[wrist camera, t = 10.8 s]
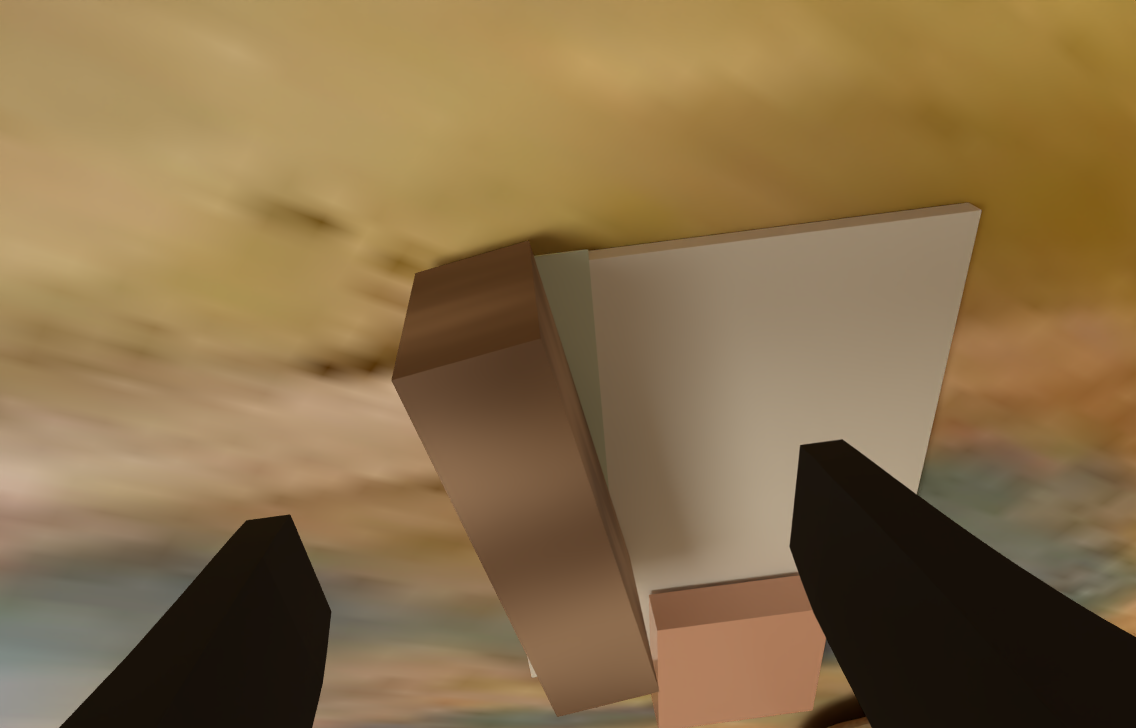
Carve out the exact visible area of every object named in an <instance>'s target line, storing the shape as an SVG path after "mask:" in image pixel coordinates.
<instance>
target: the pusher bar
mask: <svg viewBox="0 0 1136 728" xmlns="http://www.w3.org/2000/svg"><path fill="white" fill-rule="evenodd" d="M392 382H393V384H394V386H395V389H396V391H397V393H398V395H399V397H400V399H401V401H402V403H403V405H404V407H405V409H406V411H407V413H408V415H409V417H410V419H411V421H412V423H413V425H414V427H415V429H416V431H417V433H418V435H419V437H420V439H421V441H422V443H423V445H424V447H425V449H426V451H427V454H428V456H429V458H430V460H431V462H432V464H433V466H434V468H435V470H436V472H437V474H438V476H439V478H440V480H441V482H442V484H443V486H444V488H445V490H446V492H447V494H448V496H449V498H450V500H451V502H452V504H453V506H454V508H455V510H456V512H457V514H458V516H459V518H460V521H461V523H462V525H463V527H464V529H465V531H466V533H467V535H468V537H469V539H470V541H471V543H472V545H473V547H474V549H475V551H476V553H477V555H478V557H479V559H480V561H481V563H482V565H483V567H484V569H485V571H486V573H487V575H488V577H489V579H490V581H491V583H492V585H493V588H494V590H495V592H496V594H497V596H498V598H499V600H500V602H501V604H502V606H503V608H504V610H505V612H506V614H507V616H508V618H509V620H510V622H511V624H512V626H513V628H514V630H515V632H516V634H517V636H518V638H519V640H520V642H521V644H522V646H523V648H524V650H525V653H526V655H527V657H528V659H529V661H530V663H531V665H532V667H533V669H534V671H535V673H536V675H537V677H538V679H539V681H540V683H541V685H542V687H543V689H544V691H545V693H546V695H547V697H548V699H549V701H550V703H551V705H552V707H553V709H554V711H555V713H556V715H557V717H559V716H563V715H567V714H571V713H575V712H579V711H583V710H587V709H591V708H595V707H599V706H603V705H607V704H611V703H615V702H619V701H623V700H628V699H632V698H636V697H640V696H644V695H648V694H652V693H656V692H660V691H659V687H658V682H657V678H656V673H655V669H654V664H653V660H652V655H651V651H650V646H649V641H648V637H647V632H646V628H645V623H644V619H643V614H642V610H641V605H640V601H639V596H638V592H637V587H636V583H635V578H634V574H633V569H632V565H631V560H630V556H629V553H628V550H627V547H626V544H625V540H624V537H623V534H622V531H621V528H620V525H619V522H618V519H617V515H616V512H615V509H614V506H613V503H612V500H611V497H610V493H609V490H608V487H607V484H606V481H605V478H604V475H603V472H602V468H601V465H600V462H599V459H598V456H597V453H596V450H595V446H594V443H593V440H592V437H591V434H590V431H589V428H588V424H587V421H586V418H585V415H584V412H583V409H582V406H581V403H580V399H579V396H578V393H577V390H576V387H575V384H574V381H573V377H572V374H571V371H570V368H569V365H568V362H567V359H566V356H565V352H564V349H563V346H562V343H561V340H560V337H559V334H558V330H557V327H556V324H555V321H554V318H553V315H552V312H551V308H550V305H549V302H548V299H547V296H546V293H545V290H544V287H543V283H542V280H541V277H540V274H539V271H538V268H537V265H536V261H535V258H534V255H533V252H532V249H531V246H530V243H529V240H528V241H525V242H522V243H518V244H515V245H511V246H508V247H504V248H501V249H497V250H494V251H491V252H487V253H484V254H480V255H477V256H473V257H470V258H466V259H463V260H460V261H456V262H453V263H449V264H446V265H442V266H439V267H435V268H432V269H429V270H425V271H422V272H418V273H415V278H414V282H413V287H412V291H411V296H410V300H409V305H408V309H407V313H406V318H405V322H404V327H403V331H402V336H401V340H400V345H399V349H398V354H397V358H396V363H395V367H394V371H393V376H392Z"/></svg>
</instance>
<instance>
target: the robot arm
mask: <svg viewBox="0 0 1136 728" xmlns="http://www.w3.org/2000/svg"><path fill="white" fill-rule="evenodd" d="M789 547H790V550H791V553H792V556H793V559H794V561H795V564H796V567H797V570H798V573H799V576H800V578H801V581H802V584H803V587H804V589H805V592H806V595H807V597H808V600H809V602H810V605H811V608H812V610H813V613H814V615H815V617H816V619H817V621H818V623H819V625H820V627H821V629H822V631H823V633H824V635H825V637H826V639H827V641H828V643H829V645H830V647H831V649H832V651H833V653H834V655H835V657H836V659H837V661H838V663H839V665H840V667H841V669H842V671H843V673H844V675H845V676H846V678H847V680H848V682H849V684H850V686H851V688H852V690H853V692H854V694H855V696H856V698H857V700H858V702H859V704H860V706H861V708H862V710H863V712H864V713H865V715H866V717H867V719H868V721H869V723H870V725H871V727H872V728H1136V637H1134V636H1133V635H1131V634H1129V633H1127V632H1126V631H1124V630H1122V629H1120V628H1119V627H1117V626H1115V625H1113V624H1111V623H1110V622H1108V621H1106V620H1104V619H1103V618H1101V617H1099V616H1098V615H1096V614H1094V613H1093V612H1091V611H1089V610H1088V609H1086V608H1084V607H1083V606H1081V605H1079V604H1078V603H1076V602H1074V601H1073V600H1071V599H1070V598H1068V597H1066V596H1065V595H1063V594H1062V593H1060V592H1058V591H1057V590H1055V589H1054V588H1052V587H1051V586H1049V585H1048V584H1046V583H1044V582H1043V581H1041V580H1040V579H1038V578H1037V577H1035V576H1034V575H1032V574H1030V573H1029V572H1027V571H1026V570H1024V569H1023V568H1021V567H1019V566H1018V565H1016V564H1015V563H1013V562H1012V561H1010V560H1009V559H1007V558H1006V557H1004V556H1003V555H1001V554H1000V553H999V552H997V551H996V550H994V549H993V548H991V547H990V546H988V545H987V544H985V543H984V542H982V541H981V540H980V539H978V538H977V537H975V536H974V535H972V534H971V533H969V532H968V531H967V530H965V529H964V528H962V527H961V526H960V525H958V524H957V523H955V522H954V521H953V520H951V519H950V518H948V517H947V516H946V515H944V514H943V513H941V512H940V511H939V510H937V509H936V508H935V507H933V506H932V505H930V504H929V503H928V502H926V501H925V500H924V499H922V498H921V497H920V496H918V495H917V494H916V493H914V492H913V491H911V490H910V489H909V488H907V487H906V486H905V485H903V484H902V483H901V482H899V481H898V480H897V479H895V478H894V477H893V476H891V475H890V474H889V473H887V472H886V471H885V470H883V469H882V468H881V467H879V466H878V465H877V464H875V463H874V462H873V461H871V460H870V459H869V458H867V457H866V456H865V455H863V454H862V453H861V452H859V451H858V450H857V449H855V448H854V447H853V446H851V445H850V444H848V443H847V442H846V441H844V440H843V439H840V440H833V441H825V442H818V443H811V444H803V445H800V450H799V460H798V469H797V479H796V488H795V498H794V508H793V517H792V527H791V536H790V546H789ZM330 619H331V610H330V607H329V605H328V602H327V600H326V598H325V595H324V593H323V591H322V588H321V586H320V584H319V581H318V579H317V576H316V574H315V572H314V569H313V567H312V565H311V562H310V560H309V558H308V555H307V553H306V550H305V548H304V546H303V543H302V541H301V539H300V536H299V534H298V532H297V529H296V527H295V524H294V522H293V520H292V517H291V515H283V516H275V517H268V518H261V519H253V520H246V521H245V523H244V524H243V525H242V526H241V527H240V528H239V529H238V530H237V531H236V532H235V534H234V535H233V536H232V537H231V538H230V539H229V540H228V541H227V543H226V544H225V545H224V546H223V547H222V548H221V550H220V551H219V552H218V553H217V554H216V555H215V556H214V558H213V559H212V560H211V561H210V562H209V563H208V565H207V566H206V567H205V568H204V569H203V570H202V572H201V573H200V574H199V575H198V576H197V577H196V579H195V580H194V581H193V582H192V583H191V584H190V586H189V587H188V588H187V589H186V590H185V591H184V593H183V594H182V595H181V596H180V597H179V598H178V599H177V601H176V602H175V603H174V604H173V605H172V606H171V607H170V608H169V610H168V611H167V612H166V613H165V614H164V615H163V616H162V618H161V619H160V620H159V621H158V622H157V623H156V624H155V625H154V627H153V628H152V629H151V630H150V631H149V632H148V633H147V634H146V636H145V637H144V638H143V639H142V640H141V641H140V642H139V644H138V645H137V646H136V647H135V648H134V649H133V650H132V651H131V653H130V654H129V655H128V656H127V657H126V658H125V659H124V660H123V661H122V662H121V663H120V664H119V665H118V666H117V667H116V669H115V670H114V671H113V672H112V673H111V674H110V675H109V676H108V677H107V678H106V679H105V680H104V681H103V682H102V683H101V684H100V685H99V686H98V687H97V688H96V690H95V691H94V692H93V693H92V694H91V695H90V696H89V697H88V698H87V699H86V700H85V701H84V702H83V703H82V704H81V705H80V706H79V707H78V708H77V710H76V711H75V712H74V713H73V714H72V715H71V716H70V717H69V718H68V719H67V720H66V721H65V722H64V723H63V724H62V725H61V726H60V727H59V728H312V726H313V722H314V718H315V714H316V709H317V705H318V701H319V697H320V693H321V688H322V684H323V677H324V670H325V662H326V655H327V647H328V637H329V628H330Z"/></svg>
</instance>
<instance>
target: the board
mask: <svg viewBox="0 0 1136 728" xmlns="http://www.w3.org/2000/svg"><path fill="white" fill-rule="evenodd" d="M981 211H982V210H981V209H979V208H977V207H975V206H974V205H972V204H970V203H961V204H953V205H946V206H938V207H930V208H922V209H914V210H906V211H898V212H891V213H883V214H875V215H867V216H859V217H851V218H843V219H836V220H828V221H820V222H812V223H804V224H796V225H788V226H781V227H773V228H765V229H757V230H749V231H741V232H733V233H726V234H718V235H710V236H702V237H694V238H686V239H678V240H670V241H663V242H655V243H647V244H639V245H631V246H623V247H615V248H608V249H600V250H592V251H588V249H583V250H576V251H568V252H560V253H552V254H544V255H536V256H534V258H535V261H536V265H537V268H538V271H539V274H540V277H541V280H542V283H543V287H544V290H545V293H546V296H547V299H548V302H549V305H550V308H551V312H552V315H553V318H554V321H555V324H556V327H557V330H558V334H559V337H560V340H561V343H562V346H563V349H564V352H565V356H566V359H567V362H568V365H569V368H570V371H571V374H572V377H573V381H574V384H575V387H576V390H577V393H578V396H579V399H580V403H581V406H582V409H583V412H584V415H585V418H586V421H587V424H588V428H589V431H590V434H591V437H592V440H593V443H594V446H595V450H596V453H597V456H598V459H599V462H600V465H601V468H602V472H603V475H604V478H605V481H606V484H607V487H608V490H609V493H610V497H611V500H612V503H613V506H614V509H615V512H616V515H617V519H618V522H619V525H620V528H621V531H622V534H623V537H624V540H625V544H626V547H627V550H628V553H629V556H630V560H631V565H632V569H633V574H634V578H635V583H636V587H637V592H638V596H639V601H640V605H641V610H642V614H643V619H644V623H645V628H646V632H647V637H648V641H649V646H650V628H649V595H651V594H659V593H666V592H674V591H682V590H689V589H697V588H705V587H713V586H720V585H728V584H736V583H743V582H751V581H759V580H767V579H774V578H782V577H790V576H798V575H799V573H798V570H797V567H796V564H795V561H794V559H793V556H792V553H791V550H790V547H789V546H790V536H791V527H792V517H793V508H794V498H795V488H796V479H797V469H798V460H799V450H800V445H803V444H811V443H818V442H825V441H833V440H840V439H843V440H844V441H846V442H847V443H848V444H850V445H851V446H853V447H854V448H855V449H857V450H858V451H859V452H861V453H862V454H863V455H865V456H866V457H867V458H869V459H870V460H871V461H873V462H874V463H875V464H877V465H878V466H879V467H881V468H882V469H883V470H885V471H886V472H887V473H889V474H890V475H891V476H893V477H894V478H895V479H897V480H898V481H899V482H901V483H902V484H903V485H905V486H906V487H907V488H909V489H910V490H911V491H913V492H914V493H916V494H917V490H918V486H919V482H920V477H921V473H922V469H923V464H924V460H925V455H926V451H927V447H928V442H929V438H930V434H931V429H932V425H933V421H934V416H935V412H936V407H937V403H938V399H939V394H940V390H941V386H942V381H943V377H944V373H945V368H946V364H947V360H948V355H949V351H950V346H951V342H952V338H953V333H954V329H955V325H956V320H957V316H958V312H959V307H960V303H961V298H962V294H963V290H964V285H965V281H966V277H967V272H968V268H969V264H970V259H971V255H972V250H973V246H974V242H975V237H976V233H977V229H978V224H979V220H980V216H981ZM528 662H529V667H530V672H531V677H537V675H536V673H535V671H534V669H533V667H532V665H531V663H530V661H529V659H528Z"/></svg>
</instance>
